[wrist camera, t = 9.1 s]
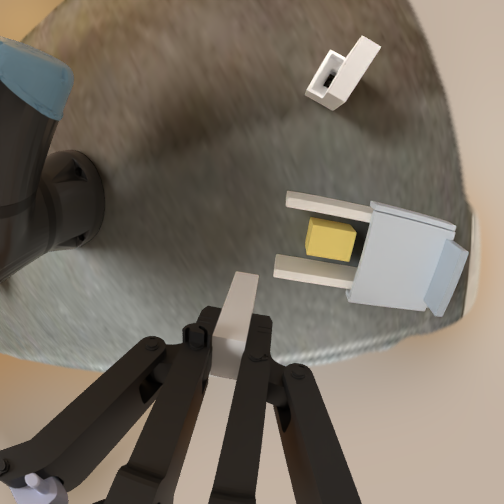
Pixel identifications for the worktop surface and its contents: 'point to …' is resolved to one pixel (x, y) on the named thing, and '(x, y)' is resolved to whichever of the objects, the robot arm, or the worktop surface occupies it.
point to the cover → (407, 261)
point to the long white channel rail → (311, 268)
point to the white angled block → (341, 74)
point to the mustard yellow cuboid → (329, 239)
